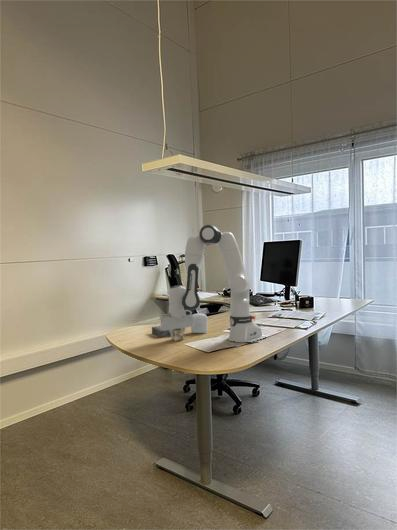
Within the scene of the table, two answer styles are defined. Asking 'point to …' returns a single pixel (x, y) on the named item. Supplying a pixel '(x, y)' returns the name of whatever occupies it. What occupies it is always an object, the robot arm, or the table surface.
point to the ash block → (177, 334)
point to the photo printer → (199, 323)
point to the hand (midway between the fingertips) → (177, 335)
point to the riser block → (160, 332)
